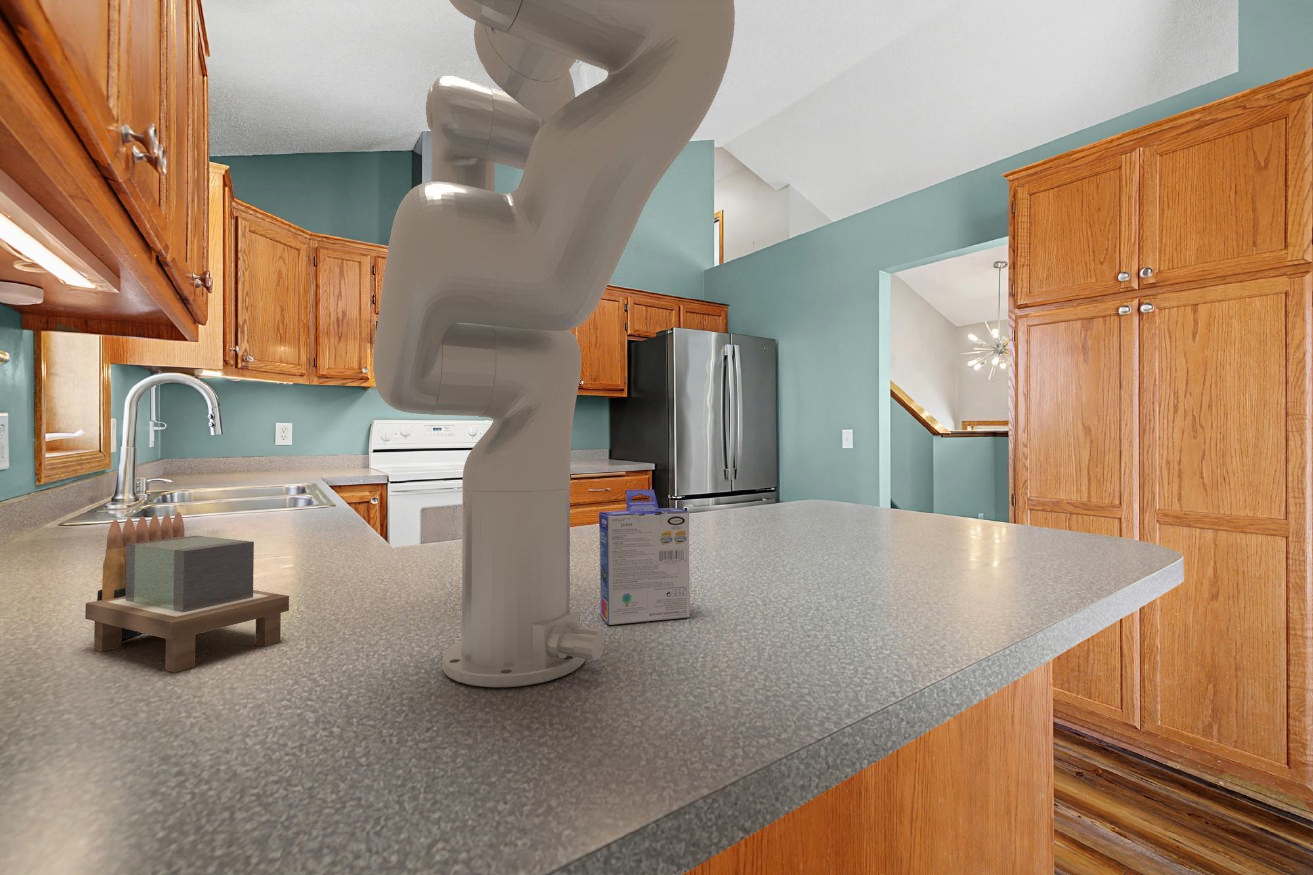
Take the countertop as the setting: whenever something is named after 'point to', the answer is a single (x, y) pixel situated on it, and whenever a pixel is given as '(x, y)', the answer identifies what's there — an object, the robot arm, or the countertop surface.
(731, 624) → the countertop surface
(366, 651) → the countertop surface
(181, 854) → the countertop surface
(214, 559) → the block
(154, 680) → the countertop surface
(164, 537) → the ammunition clip
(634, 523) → the ink cartridge box
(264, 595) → the stand
